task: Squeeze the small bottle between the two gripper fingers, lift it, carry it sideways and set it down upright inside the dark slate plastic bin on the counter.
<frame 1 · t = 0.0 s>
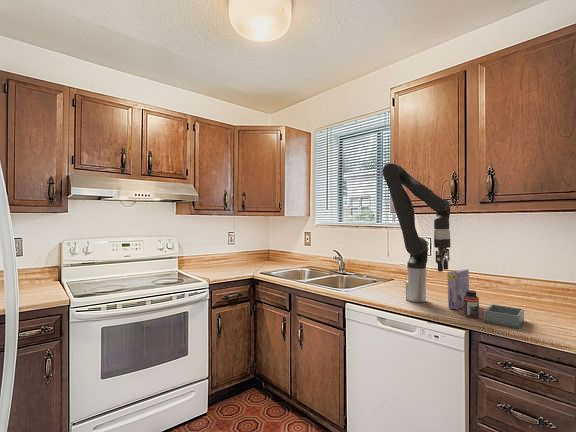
hand: (443, 270, 172), 17 cm above the worktop, tool pointing down, fingers open, 8 cm apart
supplement bottle: (471, 317, 152), on the worktop
cake pan box: (459, 306, 170), on the worktop
bin: (504, 321, 144), on the worktop
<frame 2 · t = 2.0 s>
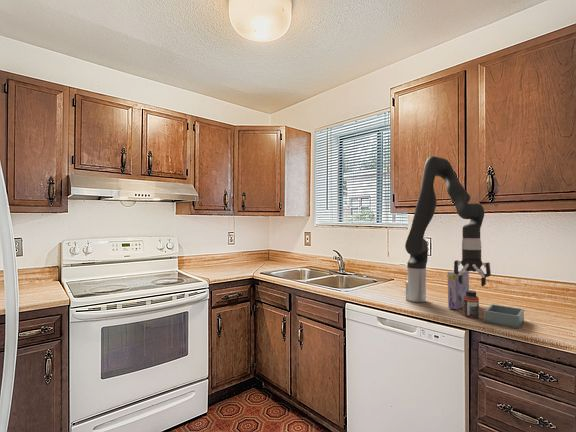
hand: (472, 284, 152), 14 cm above the worktop, tool pointing down, fingers open, 8 cm apart
nothing on the worktop moved.
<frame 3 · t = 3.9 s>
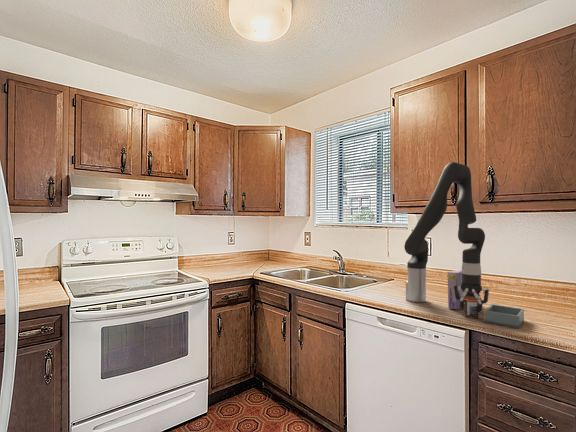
hand: (471, 310, 152), 3 cm above the worktop, tool pointing down, fingers closed on supplement bottle, 6 cm apart
supplement bottle: (471, 316, 152), on the worktop, touching gripper
everything else where it was.
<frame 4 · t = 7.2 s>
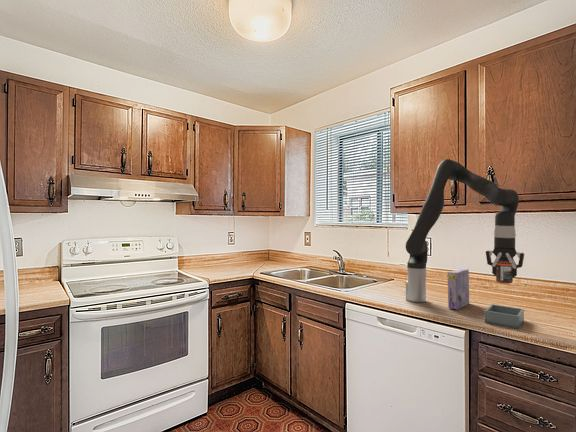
hand: (504, 276, 144), 19 cm above the worktop, tool pointing down, fingers closed on supplement bottle, 6 cm apart
supplement bottle: (504, 282, 144), point 16 cm above the worktop, touching gripper
everything else where it was.
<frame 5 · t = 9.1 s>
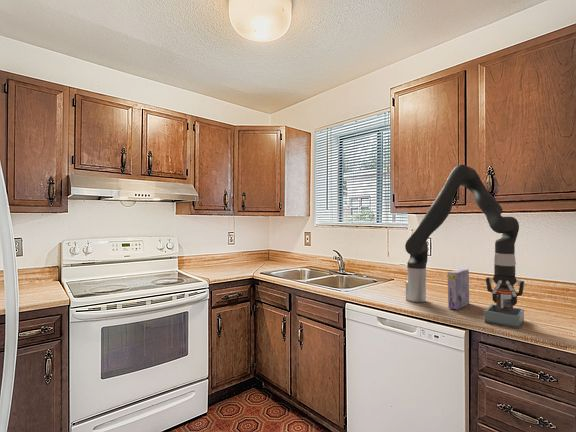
hand: (504, 303, 144), 8 cm above the worktop, tool pointing down, fingers closed on supplement bottle, 6 cm apart
supplement bottle: (504, 310, 144), point 5 cm above the worktop, touching gripper
everything else where it was.
when the fingers open (5 cm above the worktop, at t = 10.6 s): supplement bottle drops 2 cm, resting on bin.
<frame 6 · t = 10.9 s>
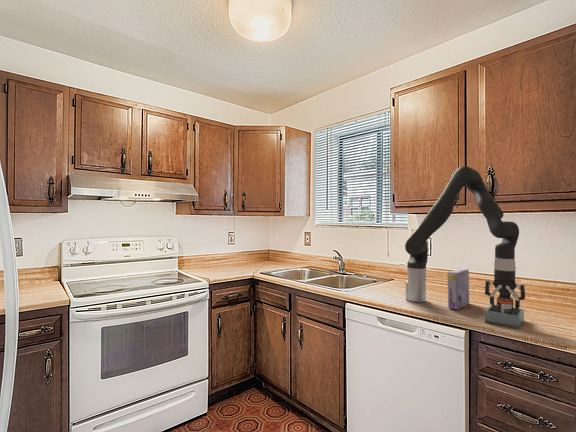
hand: (504, 307, 144), 6 cm above the worktop, tool pointing down, fingers open, 8 cm apart
supplement bottle: (504, 319, 144), point 1 cm above the worktop, touching bin
everything else where it was.
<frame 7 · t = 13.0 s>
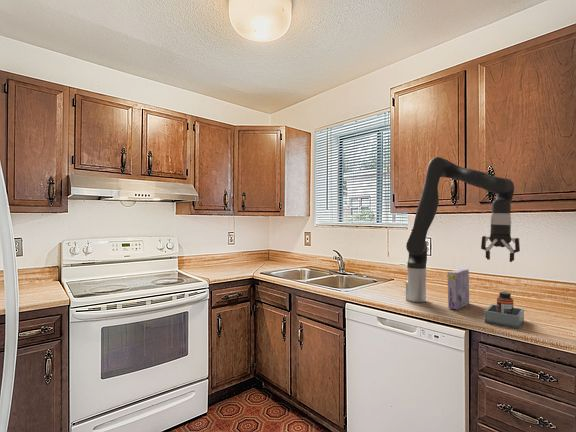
hand: (499, 260, 150), 25 cm above the worktop, tool pointing down, fingers open, 8 cm apart
nothing on the worktop moved.
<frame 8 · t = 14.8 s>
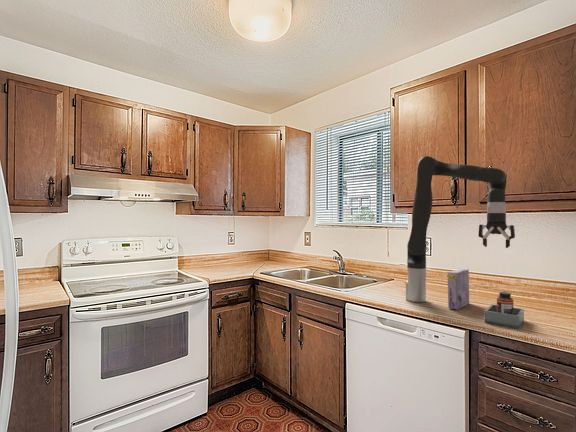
hand: (496, 247, 158), 30 cm above the worktop, tool pointing down, fingers open, 8 cm apart
nothing on the worktop moved.
at the end: supplement bottle inside the target area on the bin (0.2 cm from its centre), point 0.8 cm above the bin's base; supplement bottle tilted 0°; the gripper is holding nothing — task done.
